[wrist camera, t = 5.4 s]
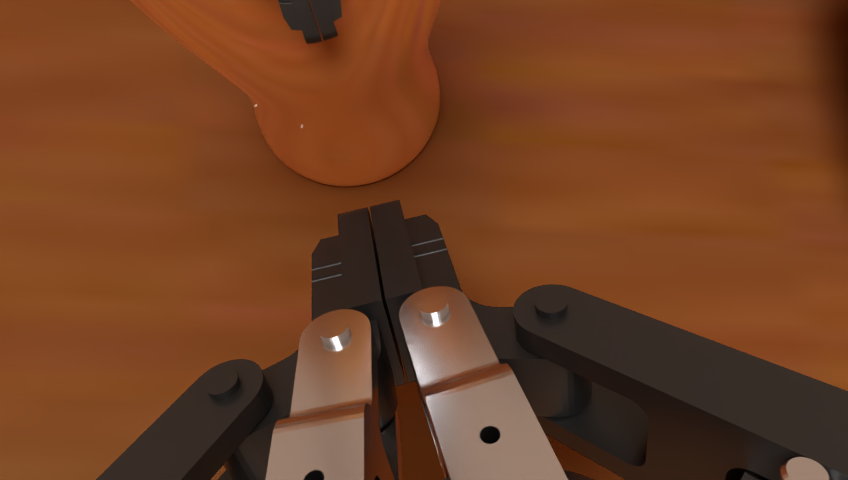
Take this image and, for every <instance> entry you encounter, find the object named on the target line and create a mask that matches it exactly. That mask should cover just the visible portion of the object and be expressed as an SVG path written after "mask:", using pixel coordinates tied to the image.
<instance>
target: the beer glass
mask: <svg viewBox="0 0 848 480" xmlns="http://www.w3.org/2000/svg"><path fill="white" fill-rule="evenodd" d="M130 1H131V2H132V3H134V4H135V5H136V6H137V7H138V8H139V9H140V10H142V11H143V12H144V13H145V14H146V15H147V16H148V17H150V18H151V19H152V20H153V21H154V22H155V23H156V24H158V25H159V26H160V27H161V28H162V29H163V30H164V31H166V32H167V33H168V34H169V35H170V36H171V37H172V38H174V39H175V40H176V41H178V42H179V43H180V44H182V45H183V46H184V47H185V48H187V49H188V50H189V51H191V52H192V53H193V54H195V55H196V56H197V57H199V58H200V59H201V60H203V61H204V62H205V63H206V64H208V65H209V66H210V67H212V68H213V69H214V70H216V71H217V72H219V73H220V74H221V75H223V76H224V77H225V78H227V79H228V80H229V81H231V82H232V83H234V84H235V85H236V86H238V87H239V88H240V89H241V90H243V91H244V92H245V93H246V94H248V96H249V97H250V98H251V100H252V104H253V108H254V112H255V115H256V119H257V122H258V125H259V127H260V130H261V132H262V135H263V137H264V139H265V140H266V142H267V144H268V145H269V147H270V148H271V150H272V151H273V152H274V154H275V155H276V156H277V157H278V158H279V159H280V160H281V161H282V162H283V163H284V164H285V165H287V166H288V167H289V168H291V169H292V170H293V171H295V172H296V173H298V174H300V175H302V176H304V177H306V178H308V179H310V180H313V181H316V182H319V183H322V184H327V185H332V186H359V185H365V184H370V183H373V182H377V181H380V180H382V179H385V178H387V177H389V176H391V175H393V174H395V173H396V172H398V171H400V170H401V169H403V168H404V167H405V166H406V165H408V164H409V163H410V162H411V161H412V160H413V159H414V158H415V157H416V156H417V155H418V154H419V153H420V152H421V150H422V149H423V148H424V146H425V145H426V143H427V142H428V140H429V138H430V136H431V134H432V132H433V130H434V128H435V125H436V122H437V118H438V114H439V108H440V86H439V79H438V75H437V71H436V68H435V64H434V62H433V59H432V56H431V53H430V51H429V48H428V40H429V37H430V33H431V30H432V26H433V24H434V21H435V18H436V15H437V12H438V9H439V6H440V3H441V0H130Z"/></svg>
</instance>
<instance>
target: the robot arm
mask: <svg viewBox="0 0 848 480" xmlns="http://www.w3.org/2000/svg"><path fill="white" fill-rule="evenodd" d="M370 211H371V217H372V221H371V217H370V213H369V210H368V208H362V209H358V210H354V211H350V212H346V213H341V214H338V229H339V235H338V236H334V237H330V238H325V239H321V240H320V242H319V243H318V245H317V247H316V248H315V250H314V251H313V253H312V282H313V283H312V322H311V323H310V324H309V325H308V326H307V327H306V328H305V330H304V331H303V333H302V335H301V338H300V343H299V349H298V350H297V351H296V352H295V353H293V354H292V355H291V356H289V357H288V358H286V359H284V360H282V361H280V362H278V363H276V364H274V365H272V366H270V367H268V368H266V369H264V370H262V369H261V368H260V366H259V365H258V364H256V363H255V362H253V361H250V360H245V359H237V360H231V361H227V362H224V363H221V364H219V365H217V366H215V367H213V368H211V369H210V370H208V371H207V372H205V373H204V374H203V375H202V376H201V377H199V378H198V379H197V380H196V381H195V382H194V383H193V384H192V385H191V386H190V387H189V388H188V389H187V390H186V391H185V392H184V393H183V394H182V395H181V396H180V397H179V398H178V399H177V400H176V401H175V402H174V403H173V404H172V405H171V406H170V407H169V408H168V409H167V410H166V411H165V412H164V413H163V414H162V415H161V416H160V417H159V418H158V419H157V420H156V421H155V422H154V423H153V424H152V425H151V426H150V427H149V428H148V429H147V430H146V431H145V432H144V433H143V434H142V435H141V436H140V437H139V438H138V439H137V440H136V441H135V442H134V443H133V444H132V445H131V446H130V447H129V448H128V449H127V450H126V451H125V452H124V453H123V454H122V455H121V456H120V457H119V458H118V459H117V460H116V461H115V462H114V463H113V464H112V465H111V466H109V467H108V468H107V469H106V470H105V471H104V472H103V473H102V474H101V475H100V476H99V477H98V478H97V479H96V480H211V478H212V477H213V476H214V475H215V474H216V473H217V471H218V470H219V469H220V468H221V467H222V466H223V465H224V467H225V468H226V471H225V472H224V473H223V474H222V475H221V477H220V478H219V479H218V480H403V468H402V452H401V436H400V421H399V415H398V411H397V396H396V390H395V386H397V385H402V384H406V383H405V377H404V372H403V366H402V361H401V357H402V360H403V364H404V368H405V371H406V375H407V378H408V382H413V381H416V383H417V387H418V391H419V394H420V398H421V402H422V406H423V409H424V413H425V416H426V420H427V423H428V426H429V429H430V433H431V436H432V439H433V443H434V446H435V449H436V452H437V456H438V459H439V462H440V465H441V469H442V472H443V475H444V479H443V480H593V479H591V478H589V477H586V476H583V475H580V474H577V473H573V472H569V471H565V470H563V469H562V467H561V465H560V463H559V461H558V459H557V457H556V455H555V453H554V451H553V449H552V447H551V445H550V443H549V441H548V439H547V437H546V435H545V434H547V435H549V436H550V437H552V438H554V439H556V440H557V441H559V442H561V443H563V444H564V445H566V446H568V447H570V448H571V449H573V450H575V451H577V452H578V453H580V454H582V455H584V456H585V457H587V458H589V459H590V460H592V461H594V462H596V463H597V464H599V465H601V466H603V467H604V468H606V469H608V470H610V471H611V472H613V473H615V474H617V475H618V476H620V477H622V478H624V479H625V480H848V391H845V390H843V389H840V388H837V387H835V386H832V385H829V384H827V383H824V382H821V381H819V380H816V379H813V378H811V377H808V376H805V375H803V374H800V373H797V372H795V371H792V370H789V369H787V368H784V367H781V366H779V365H776V364H773V363H771V362H768V361H765V360H763V359H760V358H757V357H755V356H752V355H749V354H747V353H744V352H741V351H739V350H736V349H733V348H731V347H728V346H725V345H723V344H720V343H717V342H715V341H712V340H709V339H707V338H704V337H701V336H699V335H696V334H693V333H691V332H688V331H685V330H683V329H680V328H677V327H675V326H672V325H669V324H667V323H664V322H661V321H659V320H656V319H653V318H651V317H648V316H645V315H643V314H640V313H637V312H635V311H632V310H629V309H627V308H624V307H621V306H619V305H616V304H613V303H611V302H608V301H605V300H603V299H600V298H597V297H595V296H592V295H589V294H587V293H584V292H581V291H579V290H576V289H573V288H571V287H567V286H563V285H542V286H538V287H534V288H532V289H530V290H528V291H526V292H524V293H523V294H522V295H521V296H520V297H519V298H518V299H517V300H516V302H515V304H514V307H490V306H484V305H481V304H478V303H475V302H473V301H472V300H470V299H469V298H468V297H467V296H466V295H465V294H464V293H463V292H462V290H461V288H460V285H459V282H458V279H457V276H456V273H455V271H454V268H453V265H452V262H451V259H450V256H449V253H448V251H447V248H446V245H445V242H444V239H443V236H442V234H441V231H440V228H439V225H438V223H436V222H435V221H434V220H432V219H431V218H429V217H428V216H427V215H422V216H417V217H413V218H409V219H405V220H404V216H403V212H402V208H401V205H400V201H399V200H396V201H392V202H387V203H383V204H379V205H375V206H370ZM372 223H373V224H372ZM400 353H401V355H400Z"/></svg>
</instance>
